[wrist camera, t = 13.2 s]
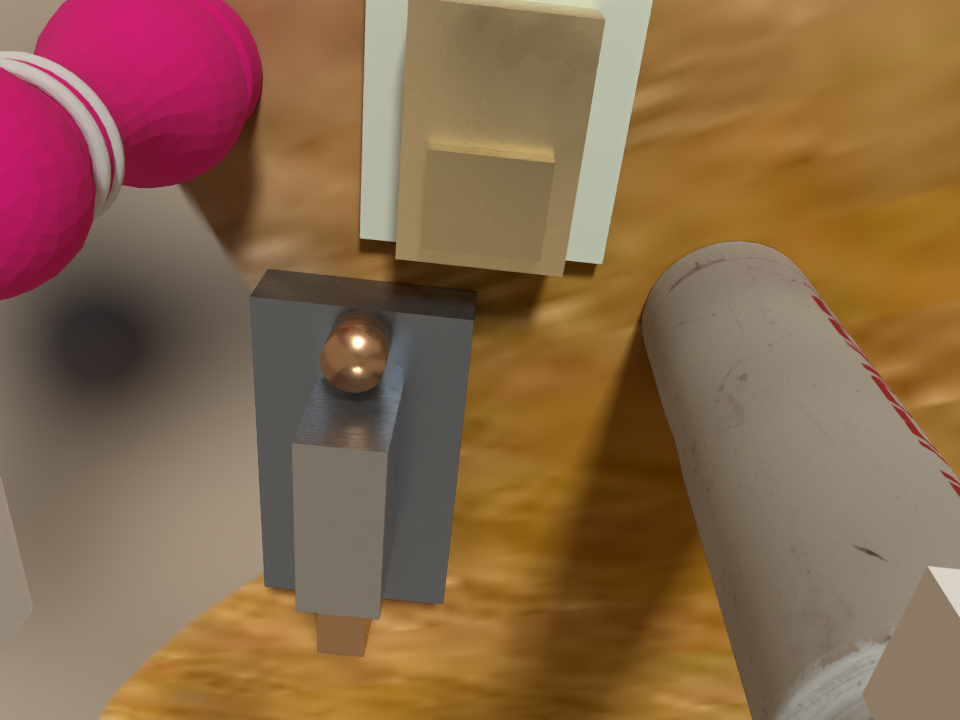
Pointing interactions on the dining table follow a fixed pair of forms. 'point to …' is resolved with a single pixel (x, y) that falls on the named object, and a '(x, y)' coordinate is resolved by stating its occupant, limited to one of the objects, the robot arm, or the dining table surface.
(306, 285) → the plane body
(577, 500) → the dining table surface
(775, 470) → the thermos bottle
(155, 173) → the pepper mill
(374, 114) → the rubber mat
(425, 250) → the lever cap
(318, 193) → the dining table surface
